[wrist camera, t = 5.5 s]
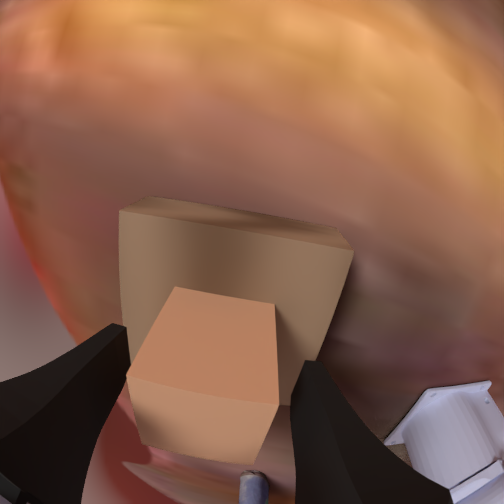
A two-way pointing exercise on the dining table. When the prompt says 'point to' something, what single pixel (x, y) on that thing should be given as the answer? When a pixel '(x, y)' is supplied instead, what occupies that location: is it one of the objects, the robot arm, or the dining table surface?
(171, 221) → the base
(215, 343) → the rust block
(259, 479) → the flask
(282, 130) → the dining table surface
